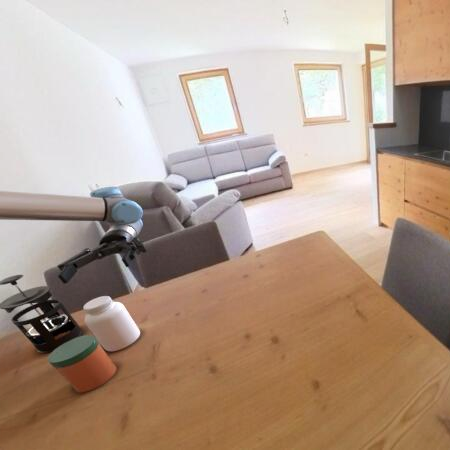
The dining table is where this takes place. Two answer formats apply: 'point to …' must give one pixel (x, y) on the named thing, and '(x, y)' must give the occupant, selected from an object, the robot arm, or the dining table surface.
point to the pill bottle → (110, 323)
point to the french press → (41, 317)
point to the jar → (89, 371)
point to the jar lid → (73, 351)
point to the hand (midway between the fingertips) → (95, 271)
